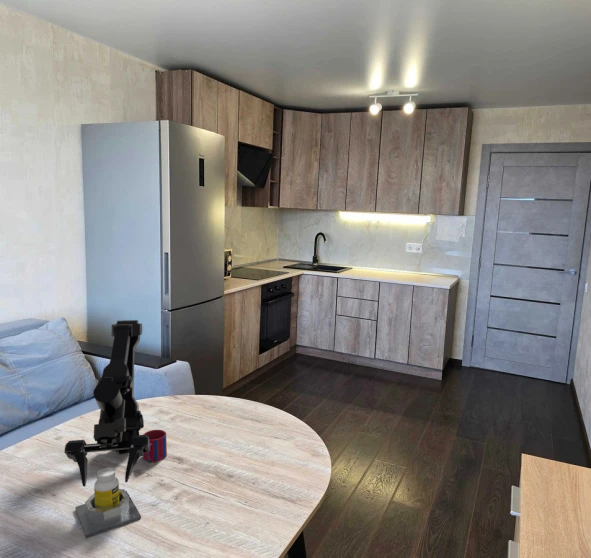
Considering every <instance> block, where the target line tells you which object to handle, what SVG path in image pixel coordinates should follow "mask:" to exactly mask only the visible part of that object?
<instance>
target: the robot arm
mask: <svg viewBox="0 0 591 558" xmlns="http://www.w3.org/2000/svg"><path fill="white" fill-rule="evenodd" d="M141 335H143V323H140V322H139V320H138V319H133V320H132V319H130V320H129V319H128V320H126V319H125V320H117V321H116V323H115V324H114V323H112V324H111V337H113V341H112V347H111V353H110V358H109V363H108V364H107V365H106V366H105V367H104V368H103V370H102V374H101V377H99V379H98V381H97V384H96V386H95V388H94V389H93V397H94V400H95V402H96V404H97V406H98V408H99V410H100V411H99V418H98V423H97V424H94V426H93V440H94V441H95V442H96V443H87V442H86V440H85V439H74V440H68V441H67V442H66V443H65V446H64V452H63V453H64V454H65V455H66V457H67V458H68V459H69V460H72V461H73V462H74V463H77V466H78V469H79V473H80V479H81V483H82V486H83V487H86V485H87V481H88V479H87V477H88V476H87V475H88V464H89V463H88V462H89V460H88V457H87V455H88V453H95V452H98V453H99V452H108V451H109V452H110V451H117V452H118V454H119V455H122V454H126V453H128V458H127V464H126V468H125V476H124V483H128V481H129V479H130V477H131V475H132V472H133V470H134V468H135V466H136V464H137V463H138V461H139V459H140V458H141V457H143V456H144V453H148V452H150V441H149V437H148V436H147V435H143V434H140V431H141V429H144V428H145V424H144V423H145V422H144V421H145V420H144V416H143V414H142V411H141V410H140V408H139V407H140V405H139V403H138V401H137V400H136V398H135V395H134V393H135V390H134V389H135V388H134V387H135V350H136V347H137V345H138V344H139V343H140V340H141Z"/></svg>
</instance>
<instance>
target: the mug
mask: <svg viewBox="0 0 591 558" xmlns="http://www.w3.org/2000/svg"><path fill="white" fill-rule="evenodd" d="M142 435H147V436H148V437H149V441H150V452H148V453H144V456H142V458H143V460H144V462H147V463H156V462H157V463H158V462H160V461H163V460H164V459H165V458H166V457H167V456H168V455H167V454H168V451H167V444H168V443H167V432H166V431H165V430H163V429H162V430H161V429H151V430H148V431H146V432H144V433H143V434H142Z"/></svg>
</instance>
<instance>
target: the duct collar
mask: <svg viewBox="0 0 591 558" xmlns="http://www.w3.org/2000/svg"><path fill="white" fill-rule="evenodd" d="M74 508H75V512H76V515H77V518H78V521H79V523H80V525H81V528H82V531H83V533H84V537H85V539H88V538H91V537H94V536H97V535H99V534H103V533H104V532H107V531H110V530H113V529H116V528H118V527H119V528H120V527H122V526H125V525H126V524H130V523H133V522H136V521H138V520H141V519H142V515H141V513H140V511H139V510H138V508H137V506H136V505H135V503H134V501H133V500H132V498H131V496H130V494H129V492H128V490H125V489H124V488H119V504H118V505H116V506H113V507H110V508H107V509H99V508H95V495H94V493H93V494H92V495H90V496H89V497H88V498H87V499H86V501H85V502H84V503H83V504H81V505H77V506H75V507H74Z"/></svg>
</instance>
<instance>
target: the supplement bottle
mask: <svg viewBox="0 0 591 558" xmlns="http://www.w3.org/2000/svg"><path fill="white" fill-rule="evenodd" d="M96 479H97V480H95V482H94V486H93V488H94V489H93V491H94V493H93V494H94V495H95V508H99V509H107V508H110V507H113V506H116V505H118V504H119V489H120V482H119V481H120V480H119V478H118V477H116V469H115V468H113V467H104V468H101V469H99V470H98V471H97V472H96Z"/></svg>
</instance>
